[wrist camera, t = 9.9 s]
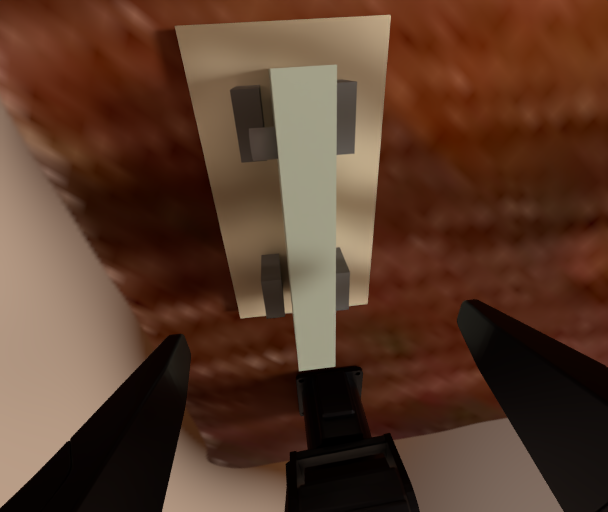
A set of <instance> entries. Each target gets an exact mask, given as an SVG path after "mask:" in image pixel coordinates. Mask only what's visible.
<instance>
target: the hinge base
mask: <svg viewBox="0 0 608 512" xmlns="http://www.w3.org/2000/svg"><path fill="white" fill-rule="evenodd" d="M390 19H391V15H380V16H360V17H341V18H321V19H302V20H282V21H263V22H243V23H224V24H204V25H185V26H175V30H176V34H177V39H178V43H179V47H180V52H181V56H182V61H183V65H184V70H185V74H186V78H187V83H188V87H189V92H190V96H191V101H192V105H193V109H194V114H195V118H196V123H197V127H198V132H199V136H200V141H201V145H202V149H203V154H204V158H205V163H206V167H207V172H208V176H209V180H210V185H211V189H212V194H213V198H214V203H215V207H216V211H217V216H218V220H219V225H220V229H221V234H222V238H223V243H224V247H225V251H226V256H227V260H228V265H229V269H230V274H231V278H232V282H233V287H234V291H235V296H236V300H237V305H238V309H239V313H240V318H249V317H258V316H266V317H267V319H268V318H277V317H285V313H292V303H291V294H290V284H289V274H288V264H287V253H286V243H285V233H284V223H283V213H282V203H281V193H280V183H279V172H278V162H277V159H271V160H259V161H253V159H252V154H251V147H250V139H249V128H263V127H274V122H273V112H272V102H271V91H270V81H269V71H268V69H271V68H287V67H303V66H320V65H337V159H336V311H338V310H346V309H349V306H354V305H362V304H367V303H368V291H369V278H370V266H371V254H372V241H373V229H374V217H375V204H376V192H377V180H378V167H379V155H380V143H381V130H382V118H383V106H384V93H385V81H386V69H387V56H388V44H389V32H390Z"/></svg>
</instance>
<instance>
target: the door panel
mask: <svg viewBox="0 0 608 512" xmlns="http://www.w3.org/2000/svg"><path fill="white" fill-rule="evenodd" d="M268 71H269V81H270V91H271V102H272V112H273V122H274V127H263V128H249V139H250V147H251V154H252V159H253V161H259V160H271V159H277V162H278V172H279V183H280V193H281V203H282V213H283V223H284V233H285V243H286V253H287V264H288V274H289V284H290V294H291V303H292V312H293V320H294V329H295V338H296V347H297V356H298V365H299V371H305V370H313V369H321V368H329V367H335V340H336V159H337V65H320V66H303V67H287V68H271V69H268Z"/></svg>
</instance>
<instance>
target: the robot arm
mask: <svg viewBox="0 0 608 512" xmlns="http://www.w3.org/2000/svg"><path fill="white" fill-rule="evenodd" d="M457 323H458V327H459V329H460V331H461V333H462V335H463V337H464V339H465V342H466V344H467V346H468V348H469V350H470V352H471V354H472V357H473V359H474V361H475V363H476V365H477V367H478V369H479V370H480V372H481V374H482V376H483V377H484V379H485V381H486V382H487V384H488V386H489V387H490V389H491V391H492V392H493V394H494V396H495V397H496V399H497V401H498V402H499V404H500V406H501V407H502V409H503V411H504V412H505V414H506V416H507V417H508V419H509V421H510V422H511V424H512V426H513V427H514V429H515V431H516V432H517V434H518V436H519V437H520V439H521V441H522V442H523V444H524V446H525V447H526V449H527V451H528V453H529V454H530V456H531V457H532V459H533V461H534V462H535V464H536V466H537V467H538V469H539V471H540V473H541V474H542V476H543V478H544V479H545V481H546V483H547V484H548V486H549V488H550V489H551V491H552V493H553V494H554V496H555V498H556V499H557V501H558V503H559V504H560V506H561V508H562V509H563V511H564V512H608V367H606V366H605V365H603V364H601V363H600V362H598V361H596V360H594V359H592V358H590V357H588V356H586V355H584V354H582V353H580V352H578V351H576V350H574V349H572V348H570V347H568V346H567V345H565V344H563V343H561V342H559V341H557V340H555V339H553V338H551V337H549V336H547V335H545V334H543V333H541V332H539V331H537V330H535V329H534V328H532V327H530V326H528V325H526V324H524V323H522V322H520V321H518V320H516V319H514V318H512V317H510V316H508V315H506V314H504V313H502V312H501V311H499V310H497V309H495V308H493V307H491V306H489V305H487V304H485V303H483V302H481V301H479V300H476V299H473V300H465V301H463V302H462V304H461V308H460V311H459V314H458V318H457ZM190 362H191V353H190V349H189V347H188V344H187V341H186V339H185V336H184V335H183V334H174V335H169V336H168V337H167V338H166V339H165V340H164V341H163V342H162V343H161V344H160V345H159V346H158V347H157V348H156V349H155V350H154V351H153V352H152V353H151V354H150V355H149V356H148V358H147V359H146V360H145V361H144V362H143V363H142V364H141V365H140V366H139V367H138V368H137V369H136V370H135V371H134V372H133V373H132V374H131V375H130V376H129V378H128V379H127V380H126V381H125V382H124V383H123V384H122V385H121V386H120V387H119V388H118V389H117V390H116V391H115V392H114V394H112V396H110V398H108V400H107V401H106V402H105V403H104V404H103V405H102V406H101V407H100V408H99V409H98V410H97V411H96V412H95V413H94V414H93V415H92V416H91V418H89V419H88V421H87V422H86V423H85V424H84V425H83V426H82V427H81V428H80V429H79V430H78V431H77V432H76V433H75V434H74V435H73V436H72V437H71V439H70V441H68V442H66V444H64V446H63V447H62V448H61V449H60V450H59V451H58V452H57V453H56V454H55V455H54V456H53V457H52V458H51V459H50V460H49V461H48V462H47V463H46V464H45V465H44V466H43V467H42V468H41V469H40V470H39V471H38V472H37V473H36V474H35V475H34V476H33V477H32V478H31V479H30V480H29V481H28V482H27V483H26V484H25V485H24V486H23V487H22V488H21V489H20V490H19V491H18V492H17V493H16V494H15V495H14V496H13V497H12V498H11V499H9V500H8V501H7V502H6V503H5V504H4V505H3V506H2V507H1V508H0V512H162V509H163V504H164V500H165V495H166V491H167V487H168V482H169V478H170V473H171V469H172V464H173V460H174V456H175V451H176V447H177V442H178V437H179V433H180V429H181V425H182V420H183V416H184V411H185V405H186V398H187V389H188V380H189V371H190ZM362 378H363V372H362V368H361V367H353V368H345V369H337V370H330V371H322V372H314V373H306V374H300V375H297V376H296V383H297V393H298V402H299V412H300V415H301V416H304V420H305V429H306V438H307V447H308V450H305V451H299V452H296V451H293V452H290V461H289V462H288V463H286V480H287V489H286V502H285V512H420V511H419V507H418V503H417V500H416V496H415V493H414V490H413V487H412V484H411V482H410V479H409V477H408V474H407V472H406V470H405V467H404V465H403V463H402V460H401V458H400V455H399V453H398V451H397V449H396V446H395V444H394V441H393V439H392V437H391V434H390V433H386V434H384V435H382V436H377V437H371V433H370V430H369V426H368V423H367V419H366V416H365V412H364V409H363V405H362V402H361V390H362Z"/></svg>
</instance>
